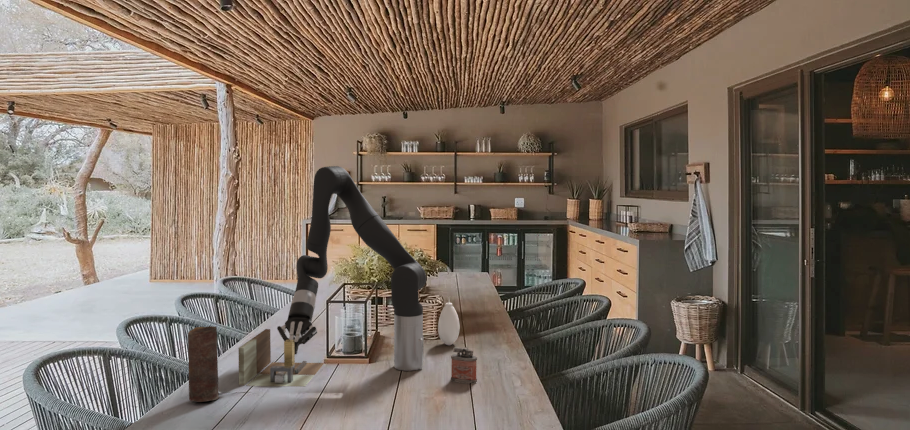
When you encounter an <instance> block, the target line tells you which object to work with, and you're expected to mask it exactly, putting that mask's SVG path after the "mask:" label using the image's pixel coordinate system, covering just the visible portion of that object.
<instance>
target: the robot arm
mask: <svg viewBox="0 0 910 430" xmlns="http://www.w3.org/2000/svg"><path fill="white" fill-rule="evenodd" d="M312 187H313V189H312V207H311V208H312V209H311V220H310V226H309V230H308V235H307V240H306V247H305V248H306V249H307V250H308V251H309V252H311V253H314V254H316V255H317V256H318V257H316V256H312V255H305V254H304V255H303V254H302V255H301V256H299V258H297V261H296V265H295V266H296V268H295V269H296V275H297V276H296V277H297V282H296V287H295V291H294V295H293V297H292V300H291V304H290V307H289V311H288V316H287V319H286V321H285V322H284V324H283V325H282V326H281V325H279V326H277V328H276V329H277V331H278V333H279V335H280V336H281V338H282V339H283V342H284V341H286V340H294V349H295V355H297V354H298V350H299V346H300V345H305V344H307V343H308V342H309V341H310V340H311V339H312V338H314V336H315V335H317V334H318V329H317V327H316V326H313V323H312V321H313V317H314V312H315V308H316V303H317V301H316V300H317V294H318V289H319V282H318V281H317V280H316V279H324V277H325V276H326V275H327V273H328V270H329V269H328V258H327V257H328V256H327V255H328V246H329V240H330V236H331V230H332V225H331V220H330V214H329V212H330V211H329V208H330V207H329V206H330V202H331V199H332V196H333V195H334V194H336V196H338V198H339V199H340V200H341V201H342V202H343V203H344V205H345V206H346V209H347V210H348V214H349V218H350V222H351V225H352V227H353V230H354V231H355V233H356V234H357V235H358V237H360V238H361V240H362V241H363V243H364V244H365V245H366V246H367V247H369V248H370V249H371V250H372V251H373V252H375V253H376V254H378V255H379V256H381V257H382V258H383V259H384V260H386V261H387V262H388V263H389V265H390V266H391V267H392V268H393V272H392V275H391V278H390V279H391V280H390V291H391V293H390V294H391V304H392V307H393V317H394V318H393V344H394V345H393V358H394V359H393V366H394V367H393V368H395V369H396V370H399V371H405V372H407V371H408V372H409V371H417V370H422V369H423V367H424V308H423V307H424V306H423V304H422V303H420V301H419V297H420V296H419V290H421V289H422V288H423V287H425V285H426V284H427V283H426V282H427V274H426V271H425V269H424V267H423V266H422V265H421V263H419V262H418V261H417V260H416V259H415V258H414V257H413V256H412V255H411V253H409V251H408V250H407V249H406V248H405V247H404V246H403V245H402V244H401V242H400V241H399V240H398V238H397V237H396V236H395V234H394V233H393V232H392V231H391V229H390V228H389V226H388V225H387V224H386V222H385V221H384V220H383V218H382V217H381V216H380V215H379V214H378V212H376V210H375V208H374V207H373V206H372V205H371V204H370V203H369V201H368V200H367V199H366V197H365V196H364V195H363V194H362V192H361V191H360V189H359V187H358V186H357V184H356V183H355V181H354V179H353V178H352V176H351V175H350V173H349V172H348V171H347V169H345V168H344V167H342V166H338V165H331V166H323V167H320V168H319V169H317V171H316V173H315V174H314V178H313V186H312ZM286 330H287V332H288V333H289V337H288V336H287V334H286V333H287V332H286Z"/></svg>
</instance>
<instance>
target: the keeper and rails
mask: <svg viewBox="0 0 910 430" xmlns="http://www.w3.org/2000/svg"><path fill="white" fill-rule="evenodd" d="M300 363H301V364H300V365H299V366H298V367H297V368H296V369H295V374H298V373H299V372H300V371H301V370H302V369H303V368H304V367H305V366H306V363H307V361H306V360H303V361H301V362H300ZM276 371H277V372H287V378H288V383H291V382H292V381H293V366H272V367H271V368H270V374H269V375H270V382H275V375H276Z"/></svg>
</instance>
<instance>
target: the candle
mask: <svg viewBox="0 0 910 430" xmlns="http://www.w3.org/2000/svg"><path fill="white" fill-rule="evenodd" d="M217 333H218V330H217V326H211V325H210V326H196V327H193V329H191V330H190V331H188V333H187V346H188V347H187V349H188V351H187V352H188V353H187V355H188V356H187V357H188V359H187V362H188V399H189V401H191V402H198V403H204V402H209V401H216V400H218V399H219V395H220V394H219V370H218V369H219V366H218V361H219V360H218V334H217Z"/></svg>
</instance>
